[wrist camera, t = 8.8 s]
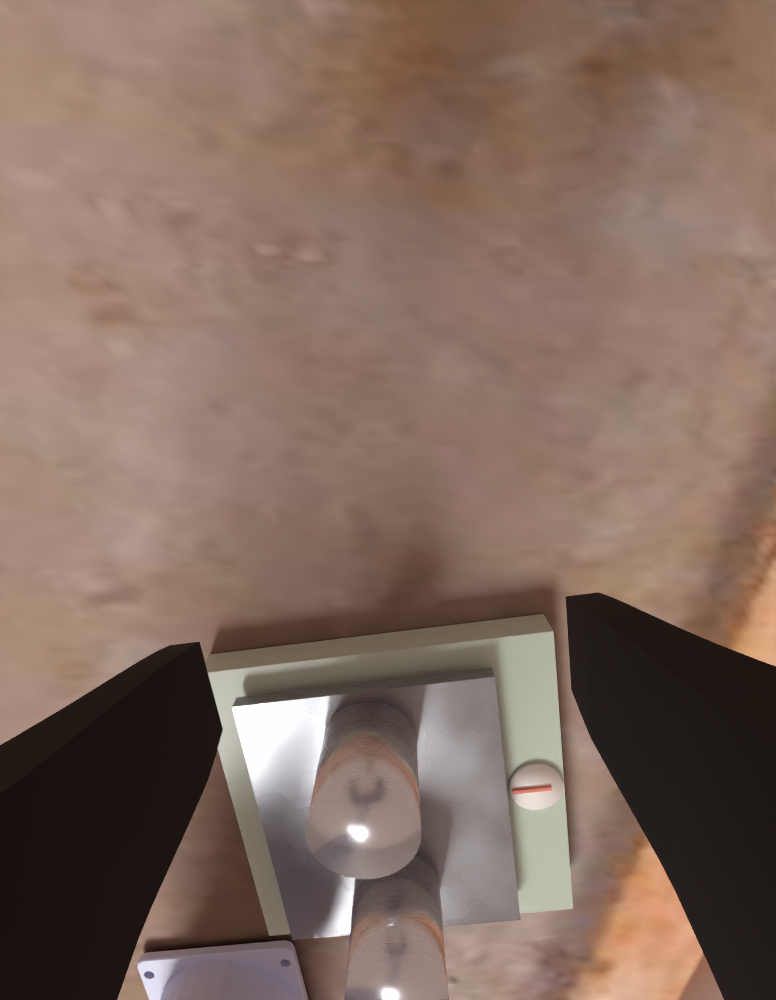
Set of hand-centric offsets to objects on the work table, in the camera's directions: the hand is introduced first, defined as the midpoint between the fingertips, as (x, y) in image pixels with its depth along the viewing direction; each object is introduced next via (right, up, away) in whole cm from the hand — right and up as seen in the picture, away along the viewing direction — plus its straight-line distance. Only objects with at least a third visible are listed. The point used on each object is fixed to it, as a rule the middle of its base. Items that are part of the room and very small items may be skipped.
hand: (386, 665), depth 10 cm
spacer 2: (0, -13, +12) cm, 17 cm away
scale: (0, -9, +13) cm, 16 cm away
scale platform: (0, -9, +12) cm, 15 cm away
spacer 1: (-1, -6, +10) cm, 11 cm away
